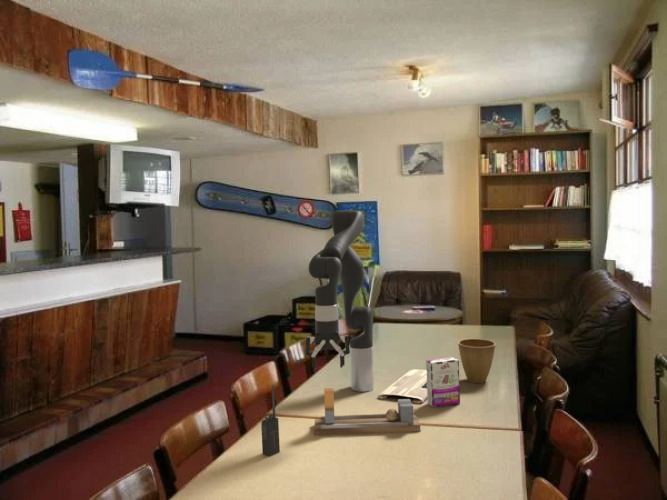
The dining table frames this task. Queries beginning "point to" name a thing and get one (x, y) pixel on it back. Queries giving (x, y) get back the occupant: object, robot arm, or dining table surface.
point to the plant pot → (476, 358)
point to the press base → (371, 422)
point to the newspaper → (409, 386)
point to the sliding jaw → (329, 406)
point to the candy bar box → (443, 382)
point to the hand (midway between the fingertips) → (328, 367)
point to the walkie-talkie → (270, 432)
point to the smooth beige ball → (392, 415)
